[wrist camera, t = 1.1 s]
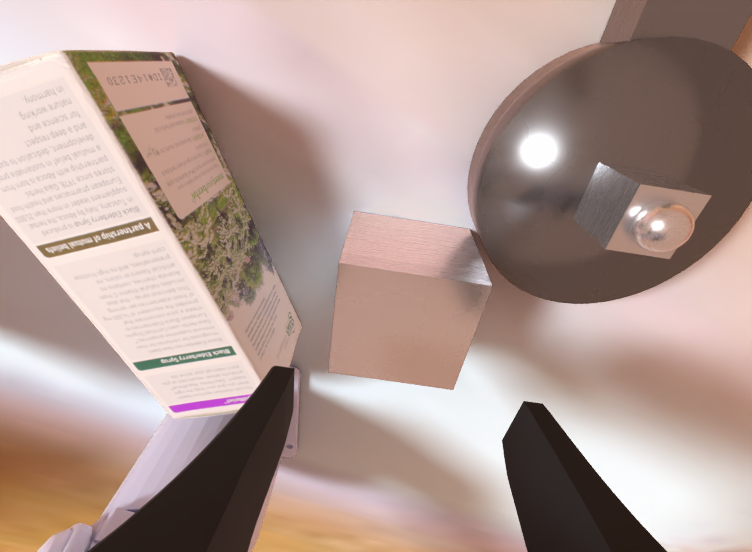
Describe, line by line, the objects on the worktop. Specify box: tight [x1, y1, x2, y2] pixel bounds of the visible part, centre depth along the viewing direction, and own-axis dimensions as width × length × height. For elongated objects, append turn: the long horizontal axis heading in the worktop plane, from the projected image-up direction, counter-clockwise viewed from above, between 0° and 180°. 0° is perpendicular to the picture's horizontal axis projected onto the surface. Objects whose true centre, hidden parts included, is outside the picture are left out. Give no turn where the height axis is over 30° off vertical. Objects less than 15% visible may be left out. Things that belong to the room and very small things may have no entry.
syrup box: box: [0, 50, 302, 419], centre depth 16 cm, size 6×6×14 cm
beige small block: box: [328, 211, 492, 390], centre depth 16 cm, size 6×6×5 cm
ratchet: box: [468, 0, 752, 304], centre depth 10 cm, size 20×10×6 cm, turn 172°
